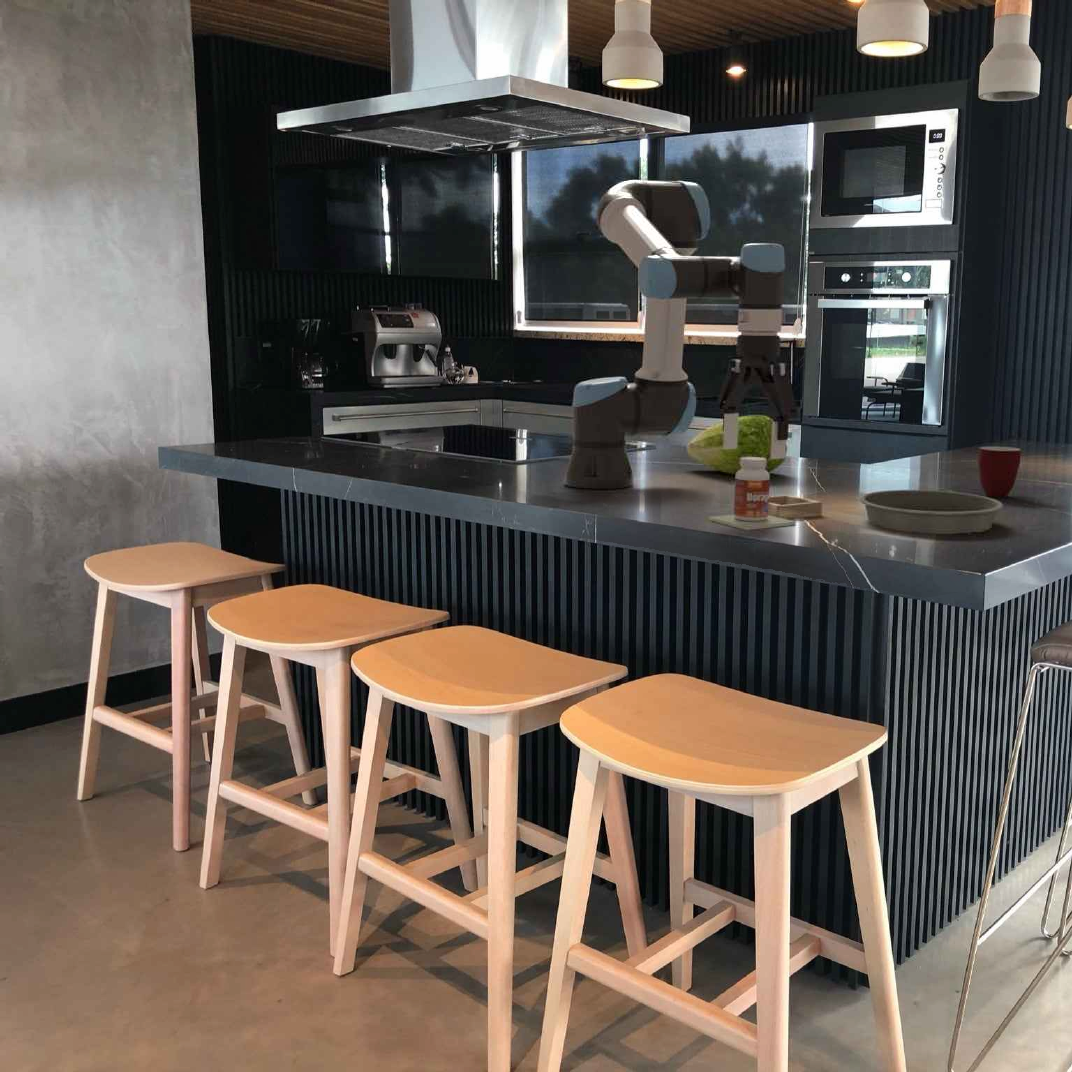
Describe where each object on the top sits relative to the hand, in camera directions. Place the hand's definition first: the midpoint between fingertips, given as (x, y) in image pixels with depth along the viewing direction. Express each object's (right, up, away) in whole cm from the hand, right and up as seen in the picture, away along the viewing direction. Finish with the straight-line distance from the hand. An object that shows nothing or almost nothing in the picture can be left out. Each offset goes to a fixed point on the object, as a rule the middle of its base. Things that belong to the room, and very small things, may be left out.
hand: (753, 453), depth 207 cm
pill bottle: (0, -12, +2) cm, 12 cm away
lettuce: (+8, 0, +66) cm, 67 cm away
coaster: (0, -12, +2) cm, 13 cm away
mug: (+57, -7, +33) cm, 67 cm away
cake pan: (+32, -13, +2) cm, 35 cm away
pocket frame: (+8, -10, +12) cm, 18 cm away
